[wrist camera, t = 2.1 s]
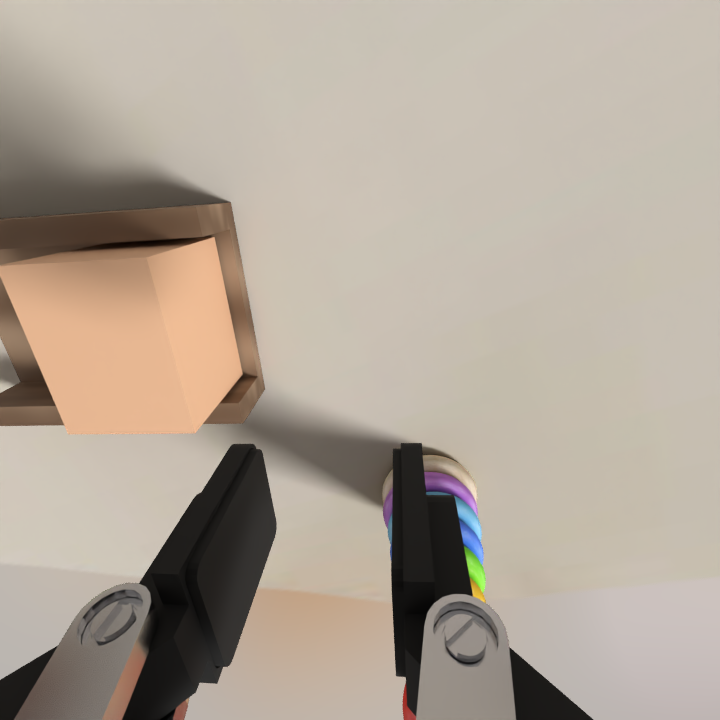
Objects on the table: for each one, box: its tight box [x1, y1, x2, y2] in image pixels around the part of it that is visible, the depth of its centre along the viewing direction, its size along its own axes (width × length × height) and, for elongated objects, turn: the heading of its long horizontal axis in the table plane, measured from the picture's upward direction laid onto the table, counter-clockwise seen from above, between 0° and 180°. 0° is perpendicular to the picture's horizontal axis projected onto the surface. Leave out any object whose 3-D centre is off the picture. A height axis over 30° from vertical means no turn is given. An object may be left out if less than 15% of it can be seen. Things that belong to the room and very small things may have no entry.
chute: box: [0, 202, 265, 426], centre depth 28 cm, size 14×20×5 cm
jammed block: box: [0, 237, 243, 434], centre depth 25 cm, size 10×8×8 cm
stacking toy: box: [382, 455, 486, 720], centre depth 26 cm, size 8×8×19 cm
